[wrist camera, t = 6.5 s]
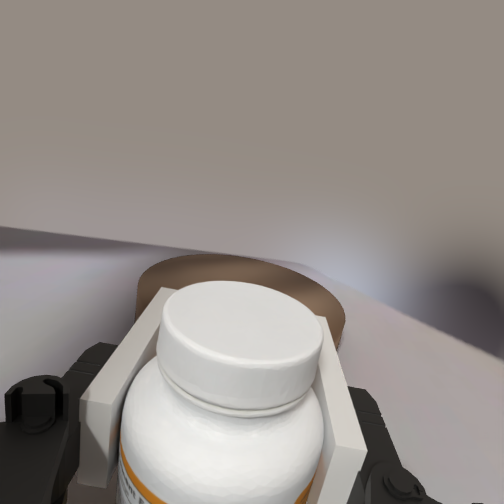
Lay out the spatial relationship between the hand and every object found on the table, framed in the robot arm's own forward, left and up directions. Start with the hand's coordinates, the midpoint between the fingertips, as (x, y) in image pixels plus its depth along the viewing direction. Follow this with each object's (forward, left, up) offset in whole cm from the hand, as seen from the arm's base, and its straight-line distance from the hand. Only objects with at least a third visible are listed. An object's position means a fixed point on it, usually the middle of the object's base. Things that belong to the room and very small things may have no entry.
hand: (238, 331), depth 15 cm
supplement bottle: (+4, -4, -6) cm, 8 cm away
